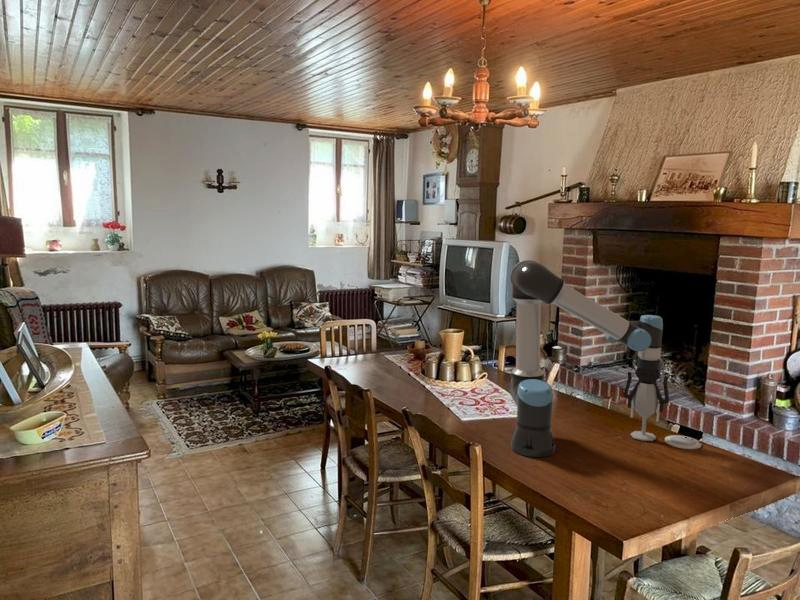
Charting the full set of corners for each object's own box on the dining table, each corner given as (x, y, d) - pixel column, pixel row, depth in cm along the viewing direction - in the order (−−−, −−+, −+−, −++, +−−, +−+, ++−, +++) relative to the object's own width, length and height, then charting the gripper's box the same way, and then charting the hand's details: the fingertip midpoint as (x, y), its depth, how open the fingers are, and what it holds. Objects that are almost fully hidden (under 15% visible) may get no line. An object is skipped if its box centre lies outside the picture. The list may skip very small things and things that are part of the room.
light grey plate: (682, 451, 208) (682, 449, 208) (657, 438, 219) (657, 437, 219) (709, 447, 212) (709, 445, 212) (683, 435, 223) (683, 433, 223)
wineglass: (656, 435, 222) (660, 380, 219) (655, 443, 214) (659, 386, 212) (631, 431, 226) (635, 377, 223) (629, 439, 218) (633, 383, 215)
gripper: (681, 359, 215) (676, 420, 218) (619, 352, 224) (615, 411, 227) (680, 363, 208) (675, 426, 211) (617, 356, 217) (613, 417, 220)
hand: (644, 418), depth 219 cm, fingers closed on wineglass, 8 cm apart
